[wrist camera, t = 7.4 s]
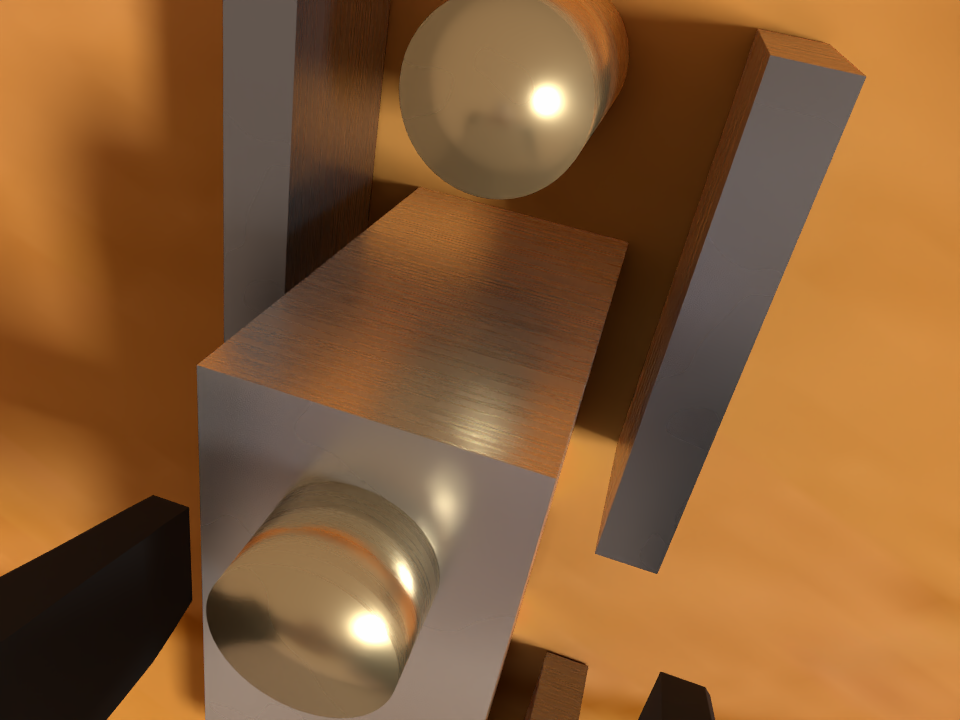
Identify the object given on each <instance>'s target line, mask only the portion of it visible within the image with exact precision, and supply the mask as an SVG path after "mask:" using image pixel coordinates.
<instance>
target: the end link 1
mask: <svg viewBox="0 0 960 720" xmlns="http://www.w3.org/2000/svg"><path fill="white" fill-rule="evenodd" d="M390 1H391V0H223V177H224V343H225V342H226V341H227V340H229V339H230V338H231V337H232V336H234V335H235V334H236V333H237V332H239V331H240V330H241V329H242V328H244V327H245V326H246V325H247V324H249V323H250V322H251V321H252V320H254V319H255V318H256V317H257V316H259V315H260V314H261V313H262V312H264V311H265V310H266V309H267V308H269V307H270V306H271V305H272V304H274V303H275V302H276V301H277V300H279V299H280V298H281V297H282V296H284V295H285V294H286V293H288V292H289V291H290V290H291V289H293V288H294V287H295V286H296V285H298V284H299V283H300V282H301V281H303V280H304V279H305V278H306V277H308V276H309V275H310V274H311V273H313V272H314V271H315V270H316V269H318V268H319V267H320V266H321V265H323V264H324V263H325V262H326V261H328V260H329V259H330V258H331V257H333V256H334V255H335V254H336V253H338V252H339V251H340V250H341V249H343V248H344V247H345V246H346V245H348V244H349V243H350V242H351V241H353V240H354V239H355V238H356V237H358V236H359V235H360V234H361V233H363V232H364V231H365V230H366V229H367V226H368V217H369V207H370V197H371V187H372V177H373V167H374V158H375V148H376V138H377V128H378V118H379V109H380V99H381V89H382V79H383V69H384V60H385V50H386V40H387V30H388V20H389V11H390ZM628 65H629V43H628V37H627V33H626V29H625V26H624V23H623V21H622V19H621V17H620V15H619V13H618V11H617V10H616V8H615V7H614V5H613V4H612V3H611V2H610V0H449V1H447V2H445V3H444V4H443V5H441V6H440V7H438V8H437V9H436V10H435V11H434V12H432V13H431V14H430V15H429V16H428V17H427V18H426V19H425V21H424V22H423V23H422V24H421V25H420V27H419V28H418V29H417V31H416V33H415V34H414V36H413V38H412V39H411V41H410V44H409V46H408V48H407V50H406V53H405V56H404V60H403V63H402V67H401V73H400V82H399V99H400V108H401V113H402V118H403V122H404V125H405V128H406V131H407V133H408V136H409V138H410V140H411V142H412V144H413V146H414V148H415V149H416V151H417V153H418V154H419V155H420V157H421V158H422V159H423V161H424V162H425V163H426V165H427V166H428V167H429V168H430V169H431V170H432V171H433V172H434V173H435V174H436V175H438V176H439V177H440V178H441V179H442V180H444V181H445V182H447V183H448V184H450V185H451V186H453V187H455V188H457V189H459V190H461V191H463V192H465V193H468V194H471V195H474V196H477V197H482V198H487V199H513V198H518V197H523V196H526V195H529V194H532V193H535V192H537V191H539V190H541V189H543V188H545V187H547V186H548V185H549V184H551V183H552V182H554V181H555V180H557V179H558V178H559V177H560V176H561V175H562V174H563V173H564V172H565V171H566V170H567V169H568V168H569V167H570V166H571V164H572V163H573V162H574V161H575V159H576V158H577V156H578V155H579V153H580V152H581V150H582V149H583V147H584V146H585V144H586V143H587V141H588V140H589V138H590V137H591V136H592V134H593V133H594V131H595V130H596V128H597V127H598V125H599V124H600V122H601V121H602V119H603V118H604V116H605V115H606V113H607V112H608V110H609V109H610V107H611V106H612V104H613V103H614V101H615V100H616V98H617V97H618V95H619V93H620V91H621V89H622V87H623V84H624V81H625V78H626V75H627V70H628ZM865 78H866V76H865V75H864V74H863V73H862V72H861V71H860V70H858V69H857V68H856V67H855V66H854V65H853V64H852V63H850V62H849V61H848V60H847V59H846V58H845V57H844V56H842V55H841V54H840V53H839V52H838V51H837V50H836V49H834V48H833V47H832V46H831V45H830V44H827V43H823V42H818V41H813V40H809V39H804V38H800V37H795V36H790V35H786V34H781V33H777V32H772V31H768V30H763V29H757V32H756V35H755V38H754V41H753V44H752V47H751V50H750V52H749V55H748V58H747V61H746V64H745V67H744V70H743V73H742V76H741V79H740V82H739V85H738V88H737V91H736V94H735V97H734V100H733V103H732V106H731V109H730V112H729V115H728V118H727V121H726V123H725V126H724V129H723V132H722V135H721V138H720V141H719V144H718V147H717V150H716V153H715V156H714V159H713V162H712V165H711V168H710V171H709V174H708V177H707V180H706V183H705V186H704V189H703V192H702V195H701V197H700V200H699V203H698V206H697V209H696V212H695V215H694V218H693V221H692V224H691V227H690V230H689V233H688V236H687V239H686V242H685V245H684V248H683V251H682V254H681V257H680V260H679V263H678V266H677V268H676V271H675V274H674V277H673V280H672V283H671V286H670V289H669V292H668V295H667V298H666V301H665V304H664V307H663V310H662V313H661V316H660V319H659V322H658V325H657V328H656V331H655V334H654V337H653V339H652V342H651V345H650V348H649V351H648V354H647V357H646V360H645V363H644V366H643V369H642V372H641V375H640V378H639V381H638V384H637V387H636V390H635V393H634V396H633V399H632V402H631V405H630V408H629V411H628V413H627V416H626V419H625V422H624V425H623V428H622V431H621V434H620V437H619V440H618V443H617V448H616V453H615V458H614V462H613V467H612V472H611V477H610V482H609V487H608V492H607V497H606V502H605V507H604V512H603V516H602V521H601V526H600V531H599V536H598V541H597V546H596V551H595V554H598V555H601V556H604V557H607V558H610V559H613V560H616V561H619V562H622V563H625V564H628V565H631V566H634V567H637V568H640V569H643V570H647V571H650V572H653V573H656V574H657V573H658V571H659V569H660V566H661V564H662V561H663V559H664V557H665V554H666V552H667V550H668V547H669V545H670V542H671V540H672V538H673V535H674V533H675V531H676V528H677V526H678V523H679V521H680V519H681V516H682V514H683V512H684V509H685V507H686V504H687V502H688V500H689V497H690V495H691V492H692V490H693V488H694V485H695V483H696V481H697V478H698V476H699V473H700V471H701V469H702V466H703V464H704V462H705V459H706V457H707V454H708V452H709V450H710V447H711V445H712V442H713V440H714V438H715V435H716V433H717V431H718V428H719V426H720V423H721V421H722V419H723V416H724V414H725V412H726V409H727V407H728V404H729V402H730V400H731V397H732V395H733V393H734V390H735V388H736V385H737V383H738V381H739V378H740V376H741V373H742V371H743V369H744V366H745V364H746V362H747V359H748V357H749V354H750V352H751V350H752V347H753V345H754V343H755V340H756V338H757V335H758V333H759V331H760V328H761V326H762V323H763V321H764V319H765V316H766V314H767V312H768V309H769V307H770V304H771V302H772V300H773V297H774V295H775V293H776V290H777V288H778V285H779V283H780V281H781V278H782V276H783V274H784V271H785V269H786V266H787V264H788V262H789V259H790V257H791V254H792V252H793V250H794V247H795V245H796V243H797V240H798V238H799V235H800V233H801V231H802V228H803V226H804V224H805V221H806V219H807V216H808V214H809V212H810V209H811V207H812V204H813V202H814V200H815V197H816V195H817V193H818V190H819V188H820V185H821V183H822V181H823V178H824V176H825V174H826V171H827V169H828V166H829V164H830V162H831V159H832V157H833V154H834V152H835V150H836V147H837V145H838V143H839V140H840V138H841V135H842V133H843V131H844V128H845V126H846V124H847V121H848V119H849V116H850V114H851V112H852V109H853V107H854V105H855V102H856V100H857V97H858V95H859V93H860V90H861V88H862V85H863V83H864V81H865Z"/></svg>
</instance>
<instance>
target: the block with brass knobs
mask: <svg viewBox="0 0 960 720" xmlns="http://www.w3.org/2000/svg"><path fill="white" fill-rule="evenodd" d="M628 243H629V242H626V241H622V240H618V239H614V238H611V237H607V236H603V235H599V234H596V233H592V232H588V231H584V230H580V229H577V228H573V227H569V226H565V225H562V224H558V223H554V222H550V221H547V220H543V219H539V218H535V217H532V216H528V215H524V214H520V213H516V212H513V211H509V210H505V209H501V208H498V207H494V206H490V205H486V204H483V203H479V202H475V201H471V200H468V199H464V198H460V197H456V196H453V195H449V194H445V193H441V192H437V191H434V190H430V189H426V188H422V187H419V188H418V189H417V190H415V191H414V192H413V193H412V194H410V195H409V196H408V197H407V198H405V199H404V200H403V201H402V202H400V203H399V204H398V205H397V206H395V207H394V208H393V209H392V210H390V211H389V212H388V213H387V214H385V215H384V216H383V217H381V218H380V219H379V220H378V221H376V222H375V223H374V224H373V225H371V226H370V227H369V228H368V229H366V230H365V231H364V232H363V233H361V234H360V235H359V236H358V237H356V238H355V239H354V240H353V241H351V242H350V243H349V244H348V245H346V246H345V247H344V248H343V249H341V250H340V251H339V252H338V253H336V254H335V255H334V256H333V257H331V258H330V259H329V260H328V261H326V262H325V263H324V264H323V265H321V266H320V267H319V268H318V269H316V270H315V271H314V272H313V273H311V274H310V275H309V276H308V277H306V278H305V279H304V280H303V281H301V282H300V283H299V284H298V285H296V286H295V287H294V288H293V289H291V290H290V291H289V292H288V293H286V294H285V295H284V296H282V297H281V298H280V299H279V300H277V301H276V302H275V303H274V304H272V305H271V306H270V307H269V308H267V309H266V310H265V311H264V312H262V313H261V314H260V315H259V316H257V317H256V318H255V319H254V320H252V321H251V322H250V323H249V324H247V325H246V326H245V327H244V328H242V329H241V330H240V331H239V332H237V333H236V334H235V335H234V336H232V337H231V338H230V339H229V340H227V341H226V342H225V343H224V344H222V345H221V346H220V347H219V348H217V349H216V350H215V351H214V352H212V353H211V354H210V355H209V356H207V357H206V358H205V359H204V360H202V361H201V362H200V363H199V364H197V395H198V436H199V477H200V518H201V559H202V600H203V641H204V682H205V720H487V719H488V716H489V712H490V709H491V706H492V702H493V699H494V695H495V692H496V689H497V685H498V682H499V679H500V675H501V672H502V668H503V665H504V662H505V658H506V655H507V652H508V648H509V645H510V641H511V638H512V635H513V631H514V628H515V625H516V621H517V618H518V614H519V611H520V608H521V604H522V601H523V598H524V594H525V591H526V587H527V584H528V581H529V577H530V574H531V571H532V567H533V564H534V560H535V557H536V554H537V550H538V547H539V543H540V540H541V537H542V533H543V530H544V527H545V523H546V520H547V516H548V513H549V510H550V506H551V503H552V500H553V496H554V493H555V489H556V486H557V483H558V479H559V476H560V473H561V469H562V466H563V462H564V459H565V456H566V452H567V449H568V446H569V442H570V439H571V435H572V432H573V429H574V425H575V422H576V419H577V415H578V412H579V408H580V405H581V402H582V398H583V395H584V391H585V388H586V385H587V381H588V378H589V375H590V371H591V368H592V364H593V361H594V358H595V354H596V351H597V348H598V344H599V341H600V337H601V334H602V331H603V327H604V324H605V321H606V317H607V314H608V310H609V307H610V304H611V300H612V297H613V294H614V290H615V287H616V283H617V280H618V277H619V273H620V270H621V267H622V263H623V260H624V256H625V253H626V250H627V246H628Z"/></svg>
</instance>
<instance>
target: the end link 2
mask: <svg viewBox="0 0 960 720" xmlns="http://www.w3.org/2000/svg"><path fill="white" fill-rule="evenodd" d="M587 670H588V666H586V665H583V664H580V663H578V662H575V661H572V660H569V659H566V658H563V657H561V656H558V655H555V654H552V653H549V652H547V653H546V656H545V659H544V662H543V665H542V668H541V671H540V674H539V677H538V680H537V683H536V686H535V689H534V692H533V695H532V698H531V700H530V703H529V706H528V709H527V712H526V715H525V718H524V720H579V714H580V709H581V703H582V698H583V692H584V687H585V681H586V676H587Z"/></svg>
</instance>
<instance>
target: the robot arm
mask: <svg viewBox="0 0 960 720" xmlns="http://www.w3.org/2000/svg"><path fill="white" fill-rule="evenodd" d="M191 602H192V580H191V552H190V524H189V507H186V506H183V505H180V504H177V503H174V502H172V501H169V500H166V499H163V498H160V497H157V496H154V495H152V496H151V497H149V498H147V499H145V500H143V501H141V502H139V503H137V504H135V505H133V506H132V507H130V508H128V509H126V510H124V511H122V512H120V513H119V514H117V515H115V516H113V517H111V518H109V519H107V520H106V521H104V522H102V523H100V524H98V525H96V526H95V527H93V528H91V529H89V530H87V531H86V532H84V533H82V534H80V535H78V536H76V537H75V538H73V539H71V540H69V541H67V542H65V543H63V544H62V545H60V546H58V547H56V548H54V549H52V550H51V551H49V552H47V553H45V554H43V555H41V556H39V557H37V558H35V559H33V560H31V561H30V562H28V563H26V564H24V565H22V566H20V567H18V568H16V569H14V570H12V571H10V572H9V573H7V574H5V575H3V576H1V577H0V720H107V718H108V717H109V716H110V715H111V714H112V712H113V711H114V710H115V709H116V707H117V706H118V705H119V704H120V703H121V701H122V700H123V699H124V698H125V696H126V695H127V694H128V693H129V691H130V690H131V689H132V688H133V686H134V685H135V684H136V683H137V681H138V680H139V679H140V678H141V676H142V675H143V674H144V673H145V671H146V670H147V669H148V668H149V666H150V665H151V664H152V662H153V661H154V660H155V658H156V657H157V655H158V654H159V652H160V651H161V649H162V648H163V646H164V644H165V643H166V641H167V640H168V638H169V637H170V635H171V634H172V632H173V631H174V629H175V627H176V626H177V624H178V623H179V621H180V619H181V618H182V616H183V614H184V613H185V611H186V610H187V608H188V606H189V605H190V603H191ZM638 720H715V717H714V712H713V708H712V703H711V697H710V694H709V693H708V691H707V690H706V688H705V687H703V686H700V685H697V684H695V683H692V682H689V681H686V680H683V679H680V678H677V677H674V676H672V675H669V674H666V673H663V672H660V674H659V676H658V678H657V680H656V683H655V685H654V687H653V689H652V691H651V693H650V695H649V697H648V700H647V702H646V704H645V706H644V708H643V710H642V712H641V715H640V717H639V719H638Z"/></svg>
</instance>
